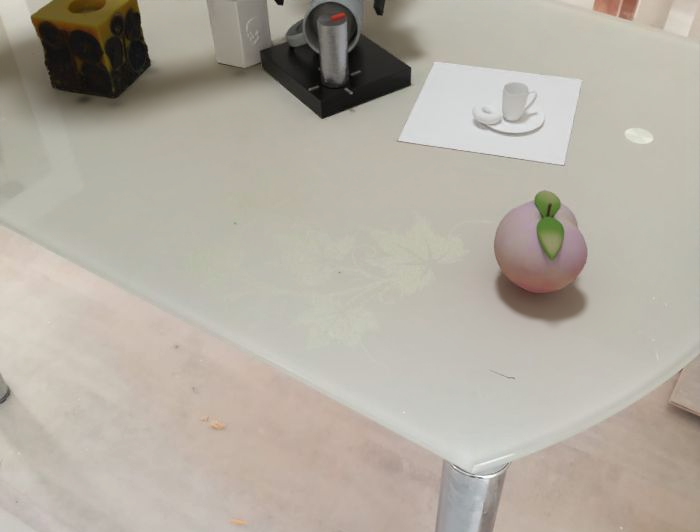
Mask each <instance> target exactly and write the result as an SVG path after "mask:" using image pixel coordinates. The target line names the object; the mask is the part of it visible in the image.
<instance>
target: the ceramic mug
mask: <svg viewBox="0 0 700 532" xmlns="http://www.w3.org/2000/svg"><path fill="white" fill-rule="evenodd" d="M328 13H338V14H340V13H344V14H345V17H346V18H347V38H348V53H349V52H350V51H351V50H352V49H353V48H354V47H355V46H356V44H357V42H358V40H359V37H360V33H362V32H361V31H362V26H363V20H364V15H365V14H364V13H365V8H364V3H363V0H311V1H310V3H309V6H308V7H307V9H306V12H305V13H304V17H303V18H301V19H299V20H298V21H296V22H295V23H293V24H292V25H291V26H290V27H289V28H288V30H287V31H286V32H285V39H286V42H287V41H288V43H289V45H290V46H291V47H299V46H302V45H305V44H308V45H309V46H310V47H311V49H313V50H314V51H315V52H316V53H318V54H319V42H318V26H317V19H318V18H319V17H320V16H322V15H324V14H328Z"/></svg>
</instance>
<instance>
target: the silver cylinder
mask: <svg viewBox="0 0 700 532" xmlns="http://www.w3.org/2000/svg"><path fill="white" fill-rule="evenodd" d="M317 26H318V42H319V57H320V73H321V83H322V84H323V85H324V86H326V87H329V88H339V87H343V86H345V85H346V84H347V83H348V82H349V67H348V38H347V18H346V17H345V14H344V13H340V14H338V13H328V14H324V15H322V16H320V17H319V18H318V19H317Z"/></svg>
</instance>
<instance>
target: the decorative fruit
mask: <svg viewBox="0 0 700 532" xmlns="http://www.w3.org/2000/svg"><path fill="white" fill-rule="evenodd" d="M493 249H494V250H493V252H494V256H495V259H496V262H497V265H498V267H499V269H500V271H501V272H502V274H503V275H504V276H505V277H506V278H507V279H508V280H510V282H512V283H513V284H515V285H516V286H518V287H519V288H521V289H523V290H525V291H528V292H532V293H536V294H544V293H551V292H552V293H553V292H556V291H559V290H561V289H563V288H565V287H567V286H569V284H571V283H572V282H574V280H576V279H577V278H578V276H579V275H580V274H581V273H582V271H583V270H584V267H585V265H586V264H587V261H588V260H587V259H588V244H587V243H586V239H585V237H584V234H583V233H582V232H581V230H580V229H579V225H578V220H577V218H576V216H575V214H574V212H573V211H572V210H571V209H570V207H568V206H567V205H565V204H564V203H562V202H561V199H560V198H559V197H558V195H556V194H555V193H554V192H552V191H549V190H541V191H539V192H537V193H536V194H535V196H534V199H533V200H530V201H528V202H525V203H522V204H520V205H517V206H515V207H514V208H512V209H511V210H509V211H508V212H507V213H506V214H505V215H504V216H503V217H502V219H501V220H500V222H499V223H498V225H497V228H496V231H495V234H494V240H493Z"/></svg>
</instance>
